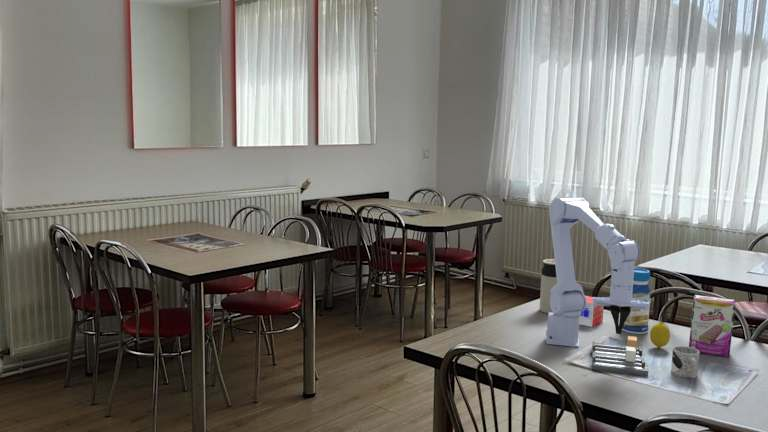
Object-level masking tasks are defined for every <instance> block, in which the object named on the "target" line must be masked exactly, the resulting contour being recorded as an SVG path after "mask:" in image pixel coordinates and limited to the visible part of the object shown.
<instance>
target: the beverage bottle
mask: <svg viewBox="0 0 768 432" xmlns="http://www.w3.org/2000/svg"><path fill="white" fill-rule="evenodd" d="M650 279H651V272H650V270H648V269H645V268H639V267H634V278H633V291H632V300H638V301H644V302H649V310H648V311H647V310H644V309H633V308H631V309H630V310H631V312H630V314H629V316H628V317H627V319H626V321H625V323H624V325H623V328H622V332H626V333H628V334H632V335H633V334H634V335H644V334H647V333H648V331H649V317H650V307H651V302H652V297H651V294H652V290H651V289H652V288H651V287H650V285H649V282H650Z"/></svg>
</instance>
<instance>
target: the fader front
mask: <svg viewBox="0 0 768 432" xmlns="http://www.w3.org/2000/svg"><path fill="white" fill-rule="evenodd" d="M625 346H626V352H625V359H626V362H632V363H634V362H635V357H636V349H635V347H627V345H625Z"/></svg>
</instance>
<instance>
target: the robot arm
mask: <svg viewBox="0 0 768 432" xmlns="http://www.w3.org/2000/svg"><path fill="white" fill-rule="evenodd" d="M548 213H549V215H548V216H549V221H550V230H551V238H552V239H551V240H552V249H553V255H554V256H553V257H554V258H553V259H555V267H556V276H557V284H556V285H555V286H554V287H553V288H552V289H551V290H550V292H551V297H550V307H551V310H552V311H553V313H552V312H549V313H547V315H548V316H547V326H546V327H547V329H546V330H545V331H546V332H545V336H546V344H547V345H554V346H562V347H563V346H565V347H574V348H575V347H576V348H579V347H580V338H579V330H580V324H579V317H580V315H581V314H582V311H583V310H584V309H585V308H586V298H585V296H586V295H585V293H584V288H583V286H582V285H581V284H579V283H578V282H577V281H576V276H575V275H576V274H575V266H574V265H575V264H574V257H573V248H572V247H573V246H572V241H571V240H572V239H571V228H573V226H574V225H576V224H577V223H578V222H580V221H581V223H583V225H584V226H586V227H587V228H588V229H590V230H591V231H593V233H594V239H595V240H596V241H597V242H598V243H599V244H600V245H601V246H602V247H603V249H604V248H605V250H606V251H607V254H608V258H609V260H610V264H609V265H610V267H611V275H610V276H611V279H610V288H609V289H610V291H609V296H607V297H604V296H602V297H600V296H599V297H598V296H592V297H593V305H594V306H597V305H601V306H604V307H609V312H610V314H611V317H612V319H613V322H614V327H615V334H617V335H621V334H622V332H623V330H622V328H623V325H624V323H625V321H626V319H627V317H628V316H629V314H630V312H631V310H630V309H631V308H633V309H644V310H647V311H648V310H649V311H650V309H649V302H644V301H638V300H632V291H633V278H634V268H635V262H636V261H638V260H639V258H640V256H641V247H640V245H639V243H637V241H636V240H633V239H629V238H626V237H625V235H623V234H621V232H619V231H618V230H617V229H616V226H615V225H614V224H610V223H604V222H602V220H601V219H600V218H599V217H598V216H597V214H596V213H595V212H593V210H592V209H591V207H590V203H589V202H588V201H587V200H585V198H584V197H580V196H578V197H562V198H561V197H555V198H553V199H552V200H551V203H550V204H549V206H548ZM563 292H564V293H563Z"/></svg>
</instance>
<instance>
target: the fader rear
mask: <svg viewBox="0 0 768 432" xmlns="http://www.w3.org/2000/svg"><path fill="white" fill-rule="evenodd" d="M626 346H627V347H635V349H636V351H637V347H638V337H637V336H629V335H627V342H626Z"/></svg>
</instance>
